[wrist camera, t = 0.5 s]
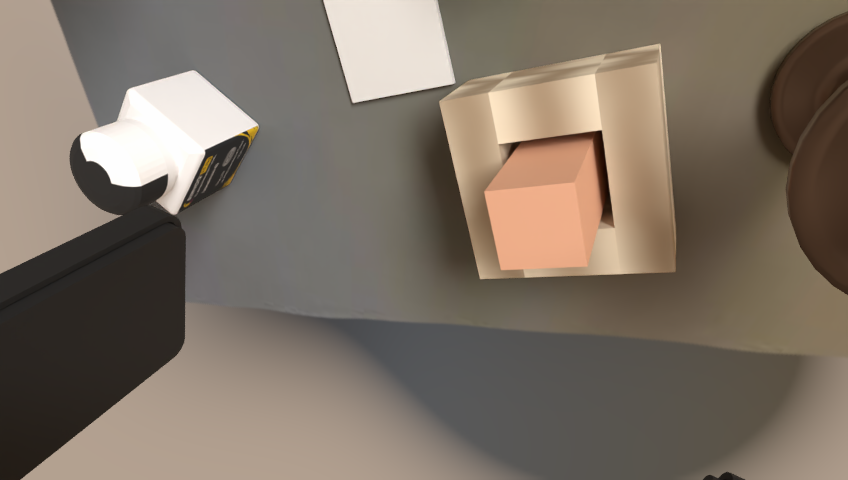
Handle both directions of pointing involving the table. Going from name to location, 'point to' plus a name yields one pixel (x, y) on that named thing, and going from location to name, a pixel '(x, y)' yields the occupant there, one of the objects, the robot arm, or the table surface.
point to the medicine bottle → (163, 147)
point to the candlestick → (817, 144)
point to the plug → (549, 202)
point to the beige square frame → (562, 115)
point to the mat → (390, 46)
